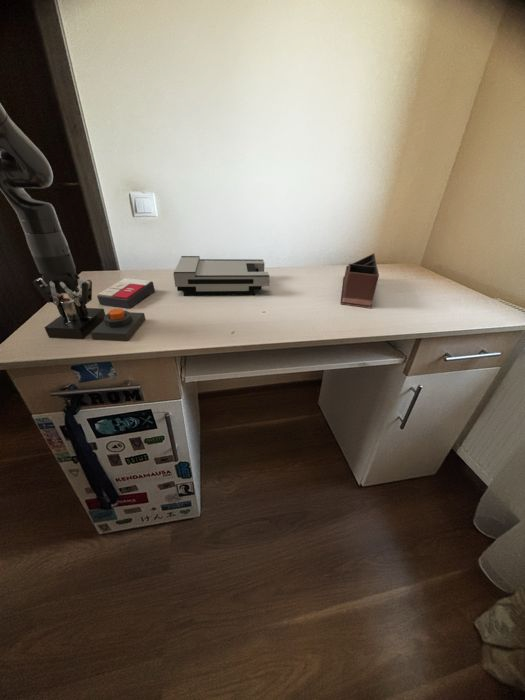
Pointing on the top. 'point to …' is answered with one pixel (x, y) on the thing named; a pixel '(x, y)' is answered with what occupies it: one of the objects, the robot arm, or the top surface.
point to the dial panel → (75, 325)
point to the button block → (118, 327)
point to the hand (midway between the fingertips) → (75, 316)
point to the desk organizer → (360, 282)
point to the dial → (70, 309)
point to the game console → (219, 276)
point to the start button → (116, 314)
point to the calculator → (126, 293)
